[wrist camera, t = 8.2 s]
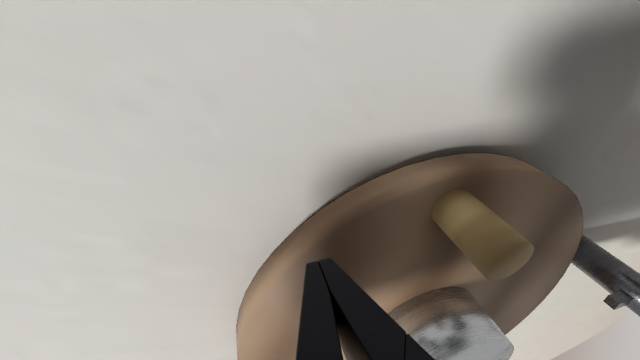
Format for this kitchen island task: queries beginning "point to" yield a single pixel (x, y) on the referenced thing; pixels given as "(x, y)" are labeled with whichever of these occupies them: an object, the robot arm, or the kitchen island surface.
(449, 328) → the cover
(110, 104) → the kitchen island surface
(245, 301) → the disc
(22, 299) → the kitchen island surface
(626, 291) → the ice cream scoop
